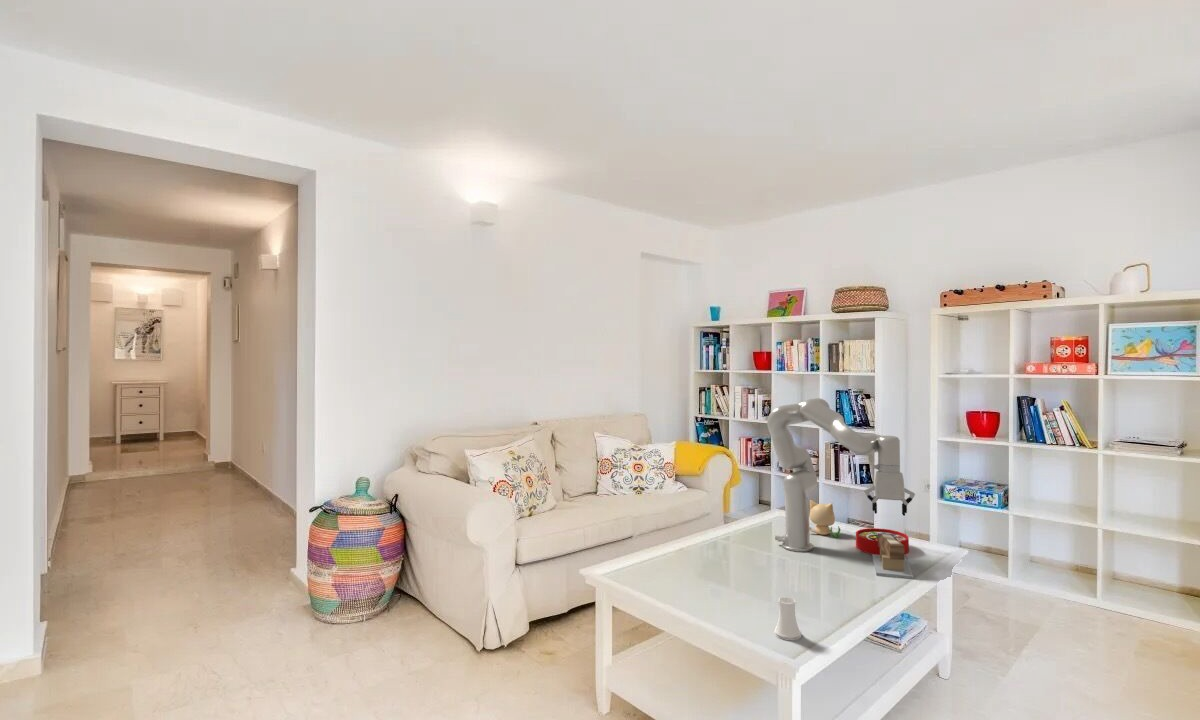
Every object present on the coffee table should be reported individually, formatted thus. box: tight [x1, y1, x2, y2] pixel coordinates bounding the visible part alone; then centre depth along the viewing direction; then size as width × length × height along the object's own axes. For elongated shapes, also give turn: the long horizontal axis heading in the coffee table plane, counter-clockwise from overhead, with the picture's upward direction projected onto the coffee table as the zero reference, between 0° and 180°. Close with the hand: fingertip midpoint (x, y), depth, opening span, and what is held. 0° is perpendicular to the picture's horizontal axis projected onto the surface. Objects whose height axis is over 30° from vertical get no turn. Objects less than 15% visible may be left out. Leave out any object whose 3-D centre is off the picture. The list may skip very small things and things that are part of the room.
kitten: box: [809, 499, 841, 538], centre depth 275 cm, size 15×10×15 cm
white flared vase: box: [773, 596, 802, 641], centre depth 178 cm, size 8×8×10 cm
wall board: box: [871, 549, 914, 580], centre depth 231 cm, size 12×22×6 cm, turn 159°
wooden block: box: [878, 533, 906, 560], centre depth 231 cm, size 16×5×5 cm, turn 170°
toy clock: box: [855, 527, 910, 555], centre depth 254 cm, size 20×6×20 cm
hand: (889, 513), depth 231 cm, fingers open, 9 cm apart
